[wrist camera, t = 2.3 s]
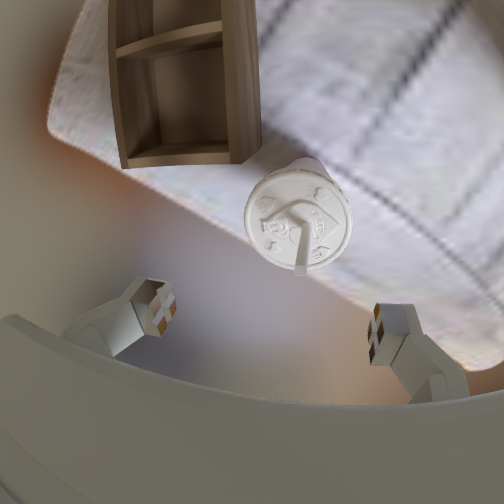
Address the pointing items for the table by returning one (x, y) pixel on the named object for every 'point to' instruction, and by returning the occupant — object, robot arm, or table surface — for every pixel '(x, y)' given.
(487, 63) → the table surface
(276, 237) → the smoothie
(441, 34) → the table surface
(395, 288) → the table surface
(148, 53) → the caddy
